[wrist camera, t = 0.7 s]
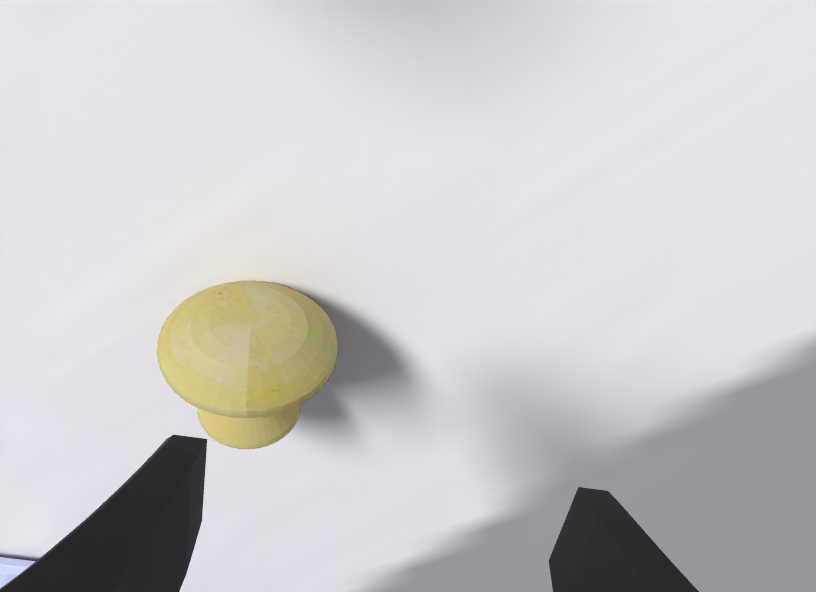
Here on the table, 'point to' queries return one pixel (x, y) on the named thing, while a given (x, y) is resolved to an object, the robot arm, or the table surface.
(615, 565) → the robot arm
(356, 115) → the table surface
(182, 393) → the knob
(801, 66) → the table surface
